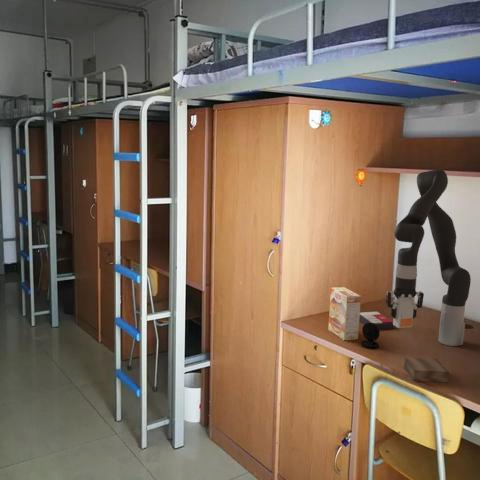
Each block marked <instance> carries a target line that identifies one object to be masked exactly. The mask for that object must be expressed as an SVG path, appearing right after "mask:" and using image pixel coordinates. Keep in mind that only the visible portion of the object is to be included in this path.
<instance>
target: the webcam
mask: <svg viewBox="0 0 480 480" xmlns="http://www.w3.org/2000/svg"><path fill="white" fill-rule="evenodd" d="M361 329H362V331H361V333H362V336H363V337H364V338H365V340H362V341H361V342H360V346H361V347H363V348H365V349H371V350H375V349H378V348H380V344H379V343H378V342H377V340H378V339H379V337H380V329H379V328H378V327H377V325H376V324H374V323H371V322H369V323H366V324H365V325H364V324H363V325H362V328H361Z"/></svg>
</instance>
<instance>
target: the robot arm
mask: <svg viewBox="0 0 480 480" xmlns="http://www.w3.org/2000/svg"><path fill="white" fill-rule="evenodd" d="M448 183H449V178H448V174H447V172H446V171H445V170H444V169H433V170H427V171H422V172H419V173H418V174H417V176H416V184H417V185H416V186H417V189H418V192H419V195H420V197H418V199H417V200H415V201H414V203H413V204H412V205H411V207H410V209H409V210H408V213H407V214H406V216H404V217H403V218H402V219H401V220H400V221H399V222H398V223H397V225H396V227H395V228H394V238H395V239H396V240H397V241H398V242H401V243H402V242H403V243H409V244H410V243H411V246H410V247H403V248H399V249H398V252H397V264H396V270H395V283H394V284H395V285H394V290H386V293H385V305H386V307H388V308H390V316H391V318H392V319H393V318H395V315H396V309H395V308H396V306H397V305H398V304H399V298H400V297H402V298H404V297H409V299H412V300H411V303H412V305H413V304H414V310H413V320H414V319H415V318H416V317H417V311H418V309H422V307H423V302H424V295H425V293H424V292H422V291H421V290H420V291H416V288H417V277H418V256H419V250H420V247H421V244H422V242H423V239H424V236H425V228H424V225H425V223H426V221H427V220H428V223H429V227H430V228H429V229H430V232H431V236H432V239H433V243H434V246H435V250H436V254H437V256H438V261H439V268H440V276H441V279H442V281H443V283H444V284H445V285H447V286H448V287H447V293H446V294H444V295H443V296H442V299H441V309H440V319H439V330H438V338H437V339H438V340H437V341H438V342H439V343H440V344H442V345H445V346H450V347H452V346H453V347H457V346H464V337H465V329H466V323H465V322H464V321H465V320H464V319H465V310H466V302H467V301H468V298H469V295H470V288H471V281H472V279H471V274H470V272H469V271H468V270H467V269H465V268H463V267H461V266H460V264H459V262H458V259H457V256H456V255H457V254H456V243H457V231H456V229H455V228H456V227H455V224H454V221H453V219H452V218H451V216H450V215H449V214H448V213H447V212H446V211H445V210H444V209H443V208H442V207H441V206H440V205H439V204H438V200H439V199H441V196H442V195H443V194H444V193H445V191H446V190H447V187H448ZM393 296H394V297H395V296H396V297H397V299H398V300H397V301H396V300H395V298H394V299H393V301H392V297H393ZM412 297H417V301H416V302H417V303H416V302H415V299H414V300H413V298H412ZM412 301H413V302H412Z"/></svg>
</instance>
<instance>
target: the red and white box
mask: <svg viewBox="0 0 480 480" xmlns="http://www.w3.org/2000/svg"><path fill="white" fill-rule="evenodd" d="M361 322H362V324H363V326H364V325H365V324H366V323H369V322H371V323H374V324H376V325H377V327H378V328H379V330H389V329H390V330H391V329H394V327H395V326H394V325H393V320H391V319H390V318H388V317H387V316H385V315H384V314H382V313H380V312H379V311H367V312H366V311H364V312H363V311H362V312H360V316H359V323H361Z"/></svg>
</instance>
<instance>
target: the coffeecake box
mask: <svg viewBox="0 0 480 480" xmlns="http://www.w3.org/2000/svg"><path fill="white" fill-rule="evenodd" d="M329 299H330V301H329V312H328V313H329V314H328V315H329V316H328V329H327V330H328V331H330V332H331V333H333V334H334V335H336V336H337V337H339V338H340V339H341V340H342V341H344V340H346V341H354V340H356V339H357V340H359V326H360V322H359V316H360V313H361V302H362V301H361V299H362V295H360V294H358V293H356V292H354V291H352V290H350V289H348V288H347V287H345V286H342V287H341V286H340V287H336V286H335V287H331V288H330V298H329Z"/></svg>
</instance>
